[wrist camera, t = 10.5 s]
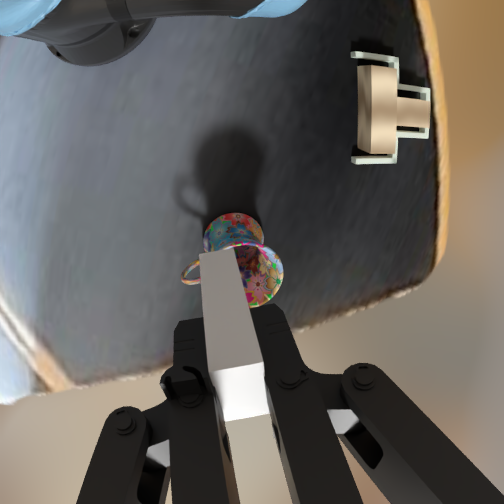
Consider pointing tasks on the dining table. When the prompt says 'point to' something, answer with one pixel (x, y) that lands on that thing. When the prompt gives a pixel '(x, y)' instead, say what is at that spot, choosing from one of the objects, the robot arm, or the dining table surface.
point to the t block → (385, 110)
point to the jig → (410, 134)
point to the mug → (244, 256)
